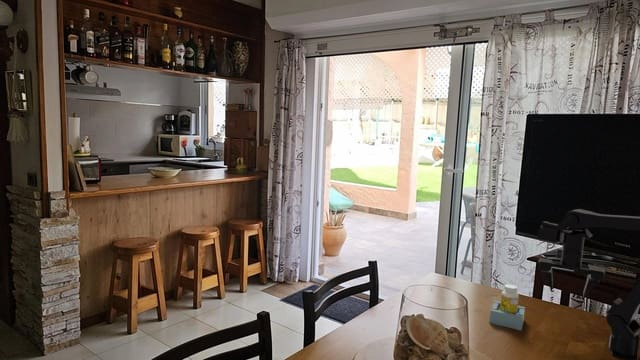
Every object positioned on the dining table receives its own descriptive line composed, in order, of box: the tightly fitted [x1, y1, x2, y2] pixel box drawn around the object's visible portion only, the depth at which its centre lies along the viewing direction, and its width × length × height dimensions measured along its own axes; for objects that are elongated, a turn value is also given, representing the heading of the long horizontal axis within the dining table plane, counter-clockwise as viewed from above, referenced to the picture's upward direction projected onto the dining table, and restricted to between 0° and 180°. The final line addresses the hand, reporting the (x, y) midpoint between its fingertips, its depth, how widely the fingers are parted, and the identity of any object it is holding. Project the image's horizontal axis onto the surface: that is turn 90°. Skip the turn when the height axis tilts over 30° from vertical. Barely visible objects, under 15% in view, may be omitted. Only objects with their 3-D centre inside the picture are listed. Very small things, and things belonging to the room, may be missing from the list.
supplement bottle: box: [500, 284, 520, 315], centre depth 148 cm, size 5×5×10 cm
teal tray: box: [489, 300, 526, 331], centre depth 149 cm, size 10×10×4 cm
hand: (567, 294), depth 141 cm, fingers open, 9 cm apart
